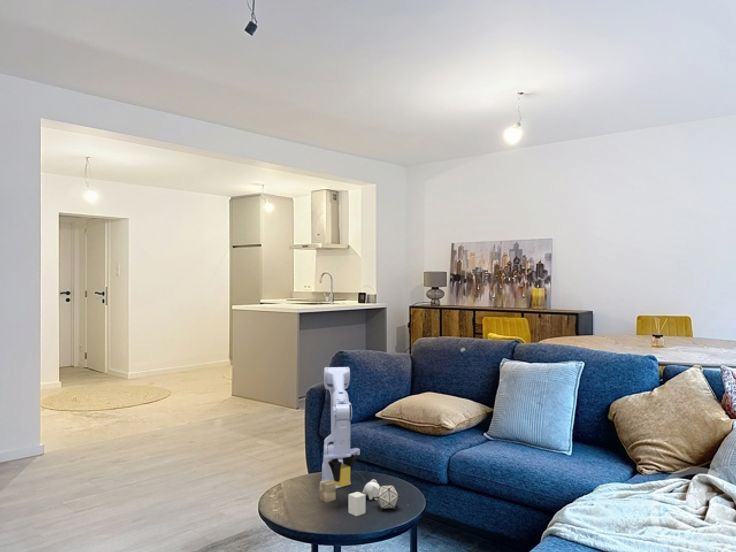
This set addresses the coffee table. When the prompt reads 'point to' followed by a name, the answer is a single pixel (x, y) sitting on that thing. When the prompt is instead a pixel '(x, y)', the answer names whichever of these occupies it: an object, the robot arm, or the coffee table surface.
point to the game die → (387, 496)
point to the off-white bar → (356, 503)
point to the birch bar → (327, 491)
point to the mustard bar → (344, 476)
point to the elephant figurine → (371, 489)
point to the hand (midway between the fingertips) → (341, 479)
